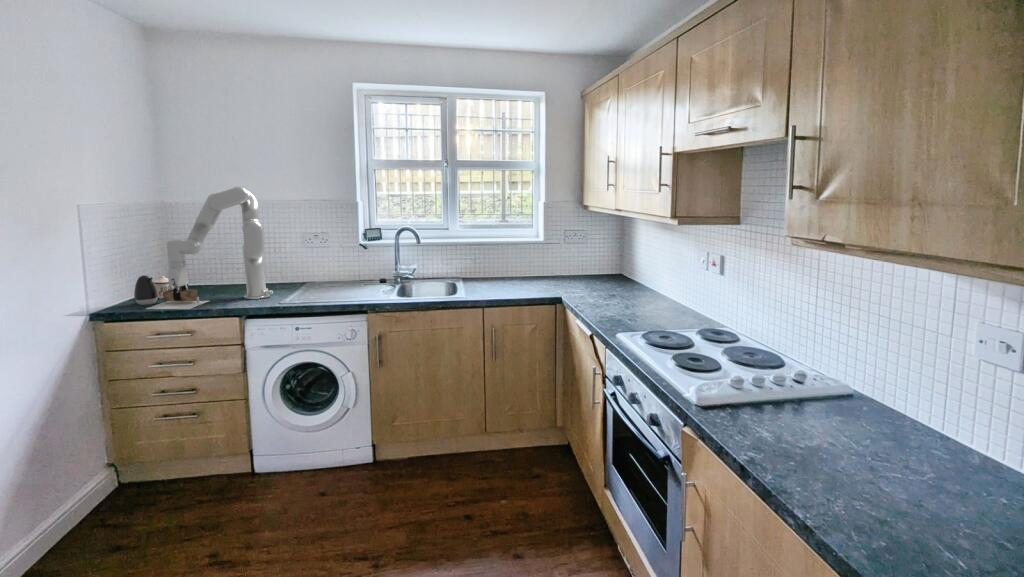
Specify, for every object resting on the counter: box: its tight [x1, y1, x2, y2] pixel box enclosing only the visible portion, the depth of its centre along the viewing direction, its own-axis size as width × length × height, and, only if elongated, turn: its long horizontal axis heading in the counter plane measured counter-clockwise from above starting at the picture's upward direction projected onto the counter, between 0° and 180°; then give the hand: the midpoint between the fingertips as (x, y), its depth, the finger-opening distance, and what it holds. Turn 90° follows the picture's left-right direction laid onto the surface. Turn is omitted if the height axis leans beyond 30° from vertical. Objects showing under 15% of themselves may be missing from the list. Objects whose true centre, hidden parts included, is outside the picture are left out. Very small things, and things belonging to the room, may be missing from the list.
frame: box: [163, 289, 199, 302], centre depth 286 cm, size 14×6×5 cm, turn 90°
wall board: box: [145, 296, 210, 310], centre depth 282 cm, size 22×19×4 cm
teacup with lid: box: [153, 275, 177, 300], centre depth 303 cm, size 12×9×12 cm
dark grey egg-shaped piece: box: [133, 274, 158, 306], centre depth 284 cm, size 10×10×15 cm
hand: (181, 298), depth 286 cm, fingers closed on frame, 6 cm apart
